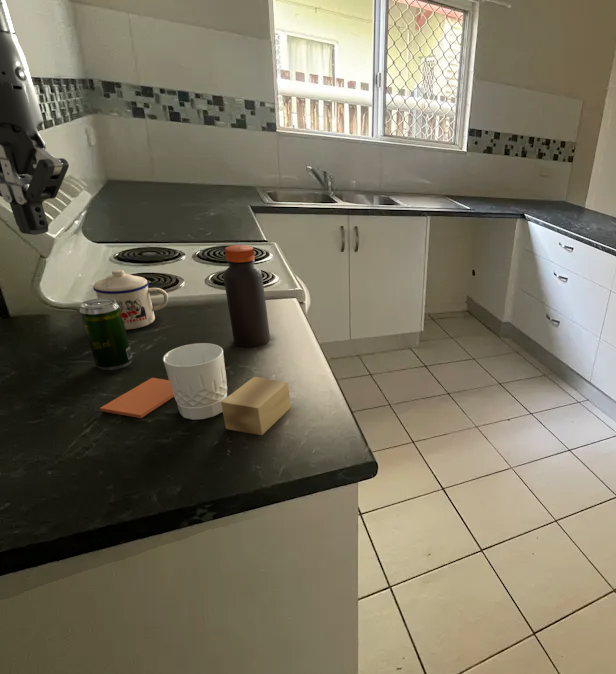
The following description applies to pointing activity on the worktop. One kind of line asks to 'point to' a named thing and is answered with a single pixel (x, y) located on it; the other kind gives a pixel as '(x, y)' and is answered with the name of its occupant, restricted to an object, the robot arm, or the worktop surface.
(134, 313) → the teacup with lid
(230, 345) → the worktop surface
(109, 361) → the beer can
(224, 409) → the beech block
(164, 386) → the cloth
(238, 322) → the bottle
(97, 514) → the worktop surface
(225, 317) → the worktop surface
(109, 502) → the worktop surface
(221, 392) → the white cup
